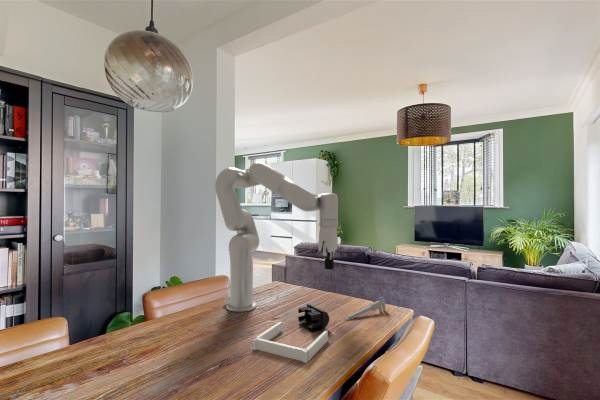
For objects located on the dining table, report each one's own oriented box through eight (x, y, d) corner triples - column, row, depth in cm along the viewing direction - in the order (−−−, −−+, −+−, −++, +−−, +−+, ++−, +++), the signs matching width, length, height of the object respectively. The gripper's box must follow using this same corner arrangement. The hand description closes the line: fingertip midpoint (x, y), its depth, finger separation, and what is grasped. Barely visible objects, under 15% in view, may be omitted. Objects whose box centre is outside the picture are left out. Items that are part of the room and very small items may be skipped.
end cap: (329, 329, 108) (329, 310, 108) (313, 333, 104) (313, 313, 104) (313, 320, 117) (313, 302, 117) (297, 324, 113) (297, 305, 113)
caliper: (383, 311, 128) (383, 296, 128) (385, 312, 127) (385, 296, 127) (344, 320, 117) (344, 303, 117) (346, 321, 116) (346, 304, 116)
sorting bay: (252, 349, 93) (252, 339, 93) (279, 330, 107) (279, 321, 107) (306, 363, 85) (306, 352, 85) (327, 340, 99) (327, 331, 99)
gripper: (327, 222, 133) (327, 265, 133) (312, 224, 120) (313, 271, 119) (343, 222, 130) (344, 266, 129) (330, 224, 116) (331, 273, 116)
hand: (329, 268), depth 124 cm, fingers closed
